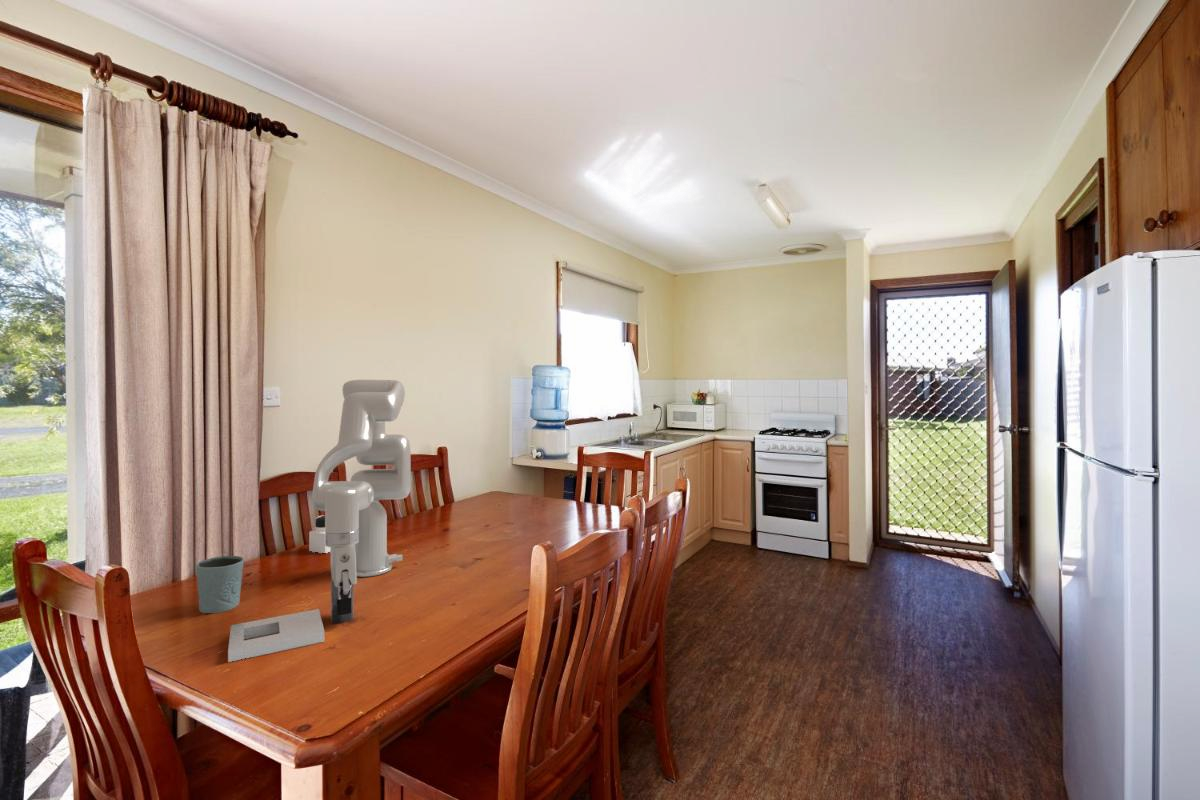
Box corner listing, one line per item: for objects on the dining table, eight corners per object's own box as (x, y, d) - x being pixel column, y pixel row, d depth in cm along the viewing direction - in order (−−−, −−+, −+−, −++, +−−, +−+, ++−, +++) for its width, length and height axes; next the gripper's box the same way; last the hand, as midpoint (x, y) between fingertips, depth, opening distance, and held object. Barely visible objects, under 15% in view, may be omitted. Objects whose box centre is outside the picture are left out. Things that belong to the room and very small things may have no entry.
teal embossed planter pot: (193, 606, 142) (193, 560, 141) (239, 596, 149) (239, 552, 148) (200, 618, 134) (200, 570, 134) (248, 607, 142) (247, 561, 141)
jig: (318, 618, 135) (318, 608, 135) (324, 641, 123) (324, 630, 123) (231, 635, 125) (231, 625, 125) (228, 662, 114) (228, 650, 113)
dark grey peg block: (351, 613, 139) (351, 574, 138) (354, 620, 134) (354, 580, 134) (330, 617, 136) (330, 577, 136) (332, 624, 132) (332, 584, 131)
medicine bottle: (341, 548, 193) (340, 514, 192) (324, 554, 186) (324, 519, 185) (325, 546, 195) (325, 513, 195) (308, 552, 188) (308, 517, 188)
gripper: (364, 543, 129) (364, 618, 130) (353, 527, 144) (353, 594, 144) (329, 548, 125) (329, 625, 126) (321, 531, 140) (322, 600, 140)
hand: (342, 608), depth 135 cm, fingers open, 5 cm apart
